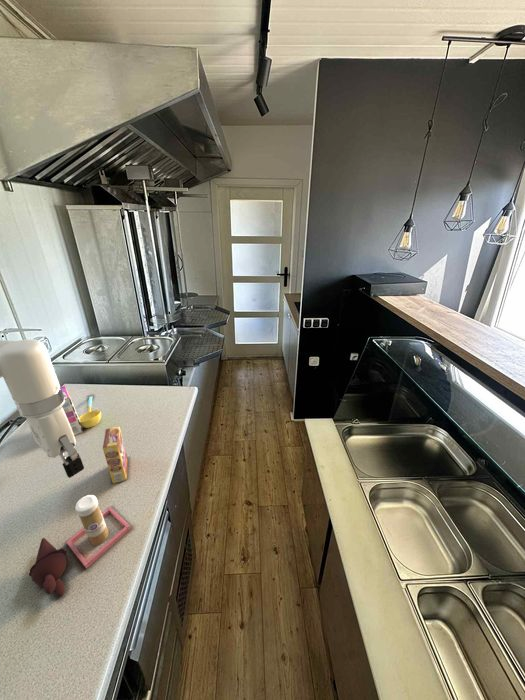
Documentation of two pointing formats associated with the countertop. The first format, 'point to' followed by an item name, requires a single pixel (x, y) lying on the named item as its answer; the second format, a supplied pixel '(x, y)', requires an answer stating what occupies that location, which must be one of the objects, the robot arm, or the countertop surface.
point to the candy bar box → (71, 413)
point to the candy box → (115, 454)
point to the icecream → (49, 568)
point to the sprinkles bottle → (92, 519)
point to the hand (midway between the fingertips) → (66, 462)
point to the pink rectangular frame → (106, 546)
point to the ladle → (90, 416)
